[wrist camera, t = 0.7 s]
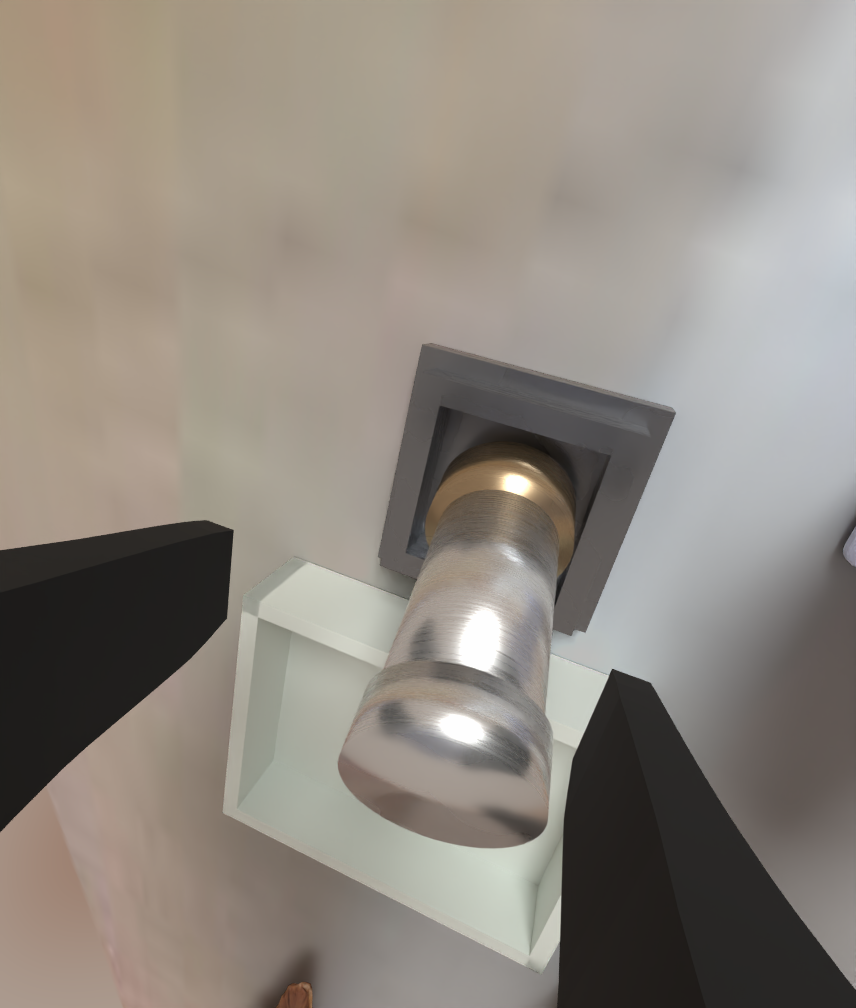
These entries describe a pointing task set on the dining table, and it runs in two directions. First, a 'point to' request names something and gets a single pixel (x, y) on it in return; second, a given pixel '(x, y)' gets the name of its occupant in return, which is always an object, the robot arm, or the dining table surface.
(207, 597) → the robot arm
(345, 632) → the tray
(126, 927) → the dining table surface
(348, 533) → the dining table surface
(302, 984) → the bird sculpture
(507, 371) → the socket base
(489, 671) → the silver rounded piece
